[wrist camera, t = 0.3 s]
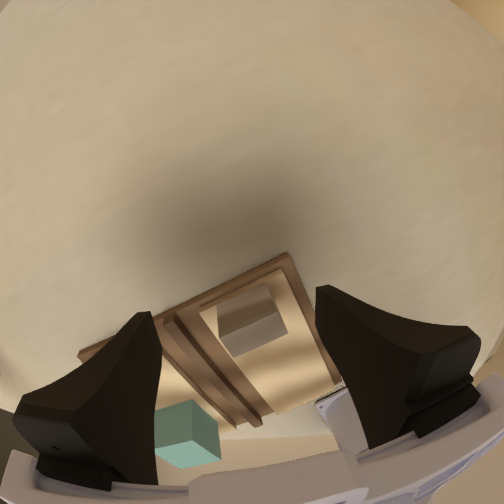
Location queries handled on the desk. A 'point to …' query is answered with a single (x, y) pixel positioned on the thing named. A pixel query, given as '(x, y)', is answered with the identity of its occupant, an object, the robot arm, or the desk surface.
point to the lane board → (213, 353)
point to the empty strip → (280, 356)
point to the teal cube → (186, 435)
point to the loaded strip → (186, 393)
